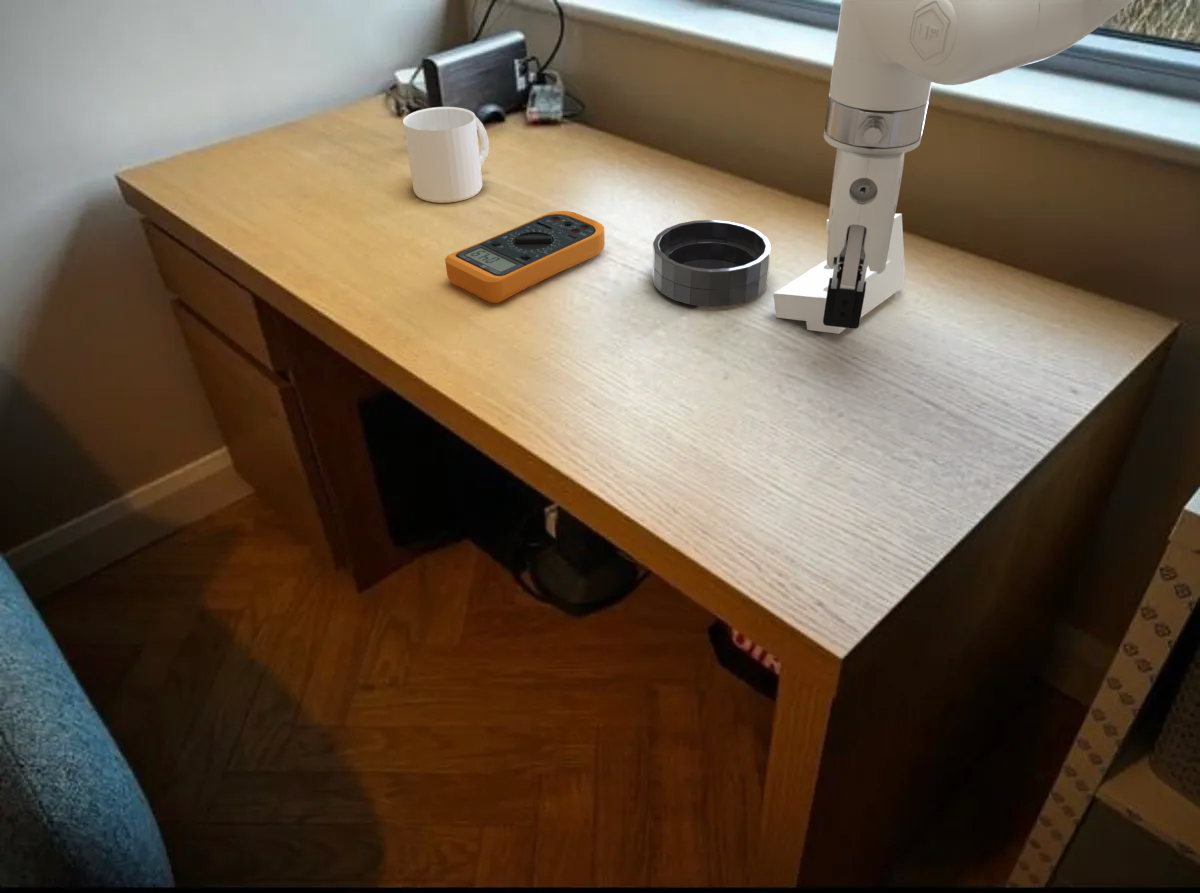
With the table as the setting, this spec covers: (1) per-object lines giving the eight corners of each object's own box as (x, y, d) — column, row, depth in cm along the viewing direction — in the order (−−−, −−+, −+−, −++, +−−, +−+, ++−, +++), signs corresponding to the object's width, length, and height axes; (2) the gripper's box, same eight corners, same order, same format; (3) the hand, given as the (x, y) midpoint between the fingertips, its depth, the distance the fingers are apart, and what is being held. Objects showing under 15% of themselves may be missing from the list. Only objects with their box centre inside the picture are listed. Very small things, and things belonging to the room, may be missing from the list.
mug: (436, 209, 114) (426, 135, 108) (401, 188, 119) (389, 117, 114) (514, 184, 120) (508, 113, 114) (477, 166, 125) (470, 97, 119)
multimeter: (614, 252, 103) (613, 224, 101) (494, 310, 93) (491, 280, 91) (562, 231, 108) (561, 203, 106) (443, 283, 98) (439, 255, 96)
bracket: (845, 280, 99) (839, 212, 95) (905, 285, 94) (901, 213, 90) (777, 326, 91) (768, 254, 88) (838, 333, 86) (831, 258, 83)
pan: (773, 263, 100) (777, 225, 97) (758, 317, 91) (762, 277, 88) (665, 252, 103) (666, 215, 100) (641, 303, 94) (641, 264, 91)
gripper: (923, 158, 65) (880, 372, 76) (923, 94, 76) (885, 289, 87) (817, 150, 66) (790, 360, 78) (833, 89, 77) (807, 280, 89)
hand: (840, 322), depth 82 cm, fingers closed
